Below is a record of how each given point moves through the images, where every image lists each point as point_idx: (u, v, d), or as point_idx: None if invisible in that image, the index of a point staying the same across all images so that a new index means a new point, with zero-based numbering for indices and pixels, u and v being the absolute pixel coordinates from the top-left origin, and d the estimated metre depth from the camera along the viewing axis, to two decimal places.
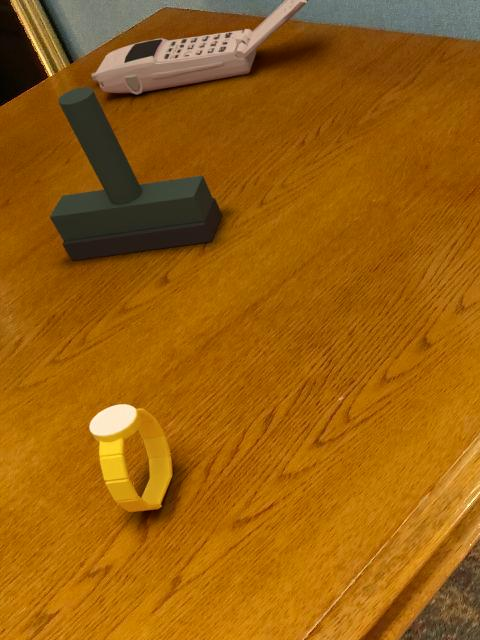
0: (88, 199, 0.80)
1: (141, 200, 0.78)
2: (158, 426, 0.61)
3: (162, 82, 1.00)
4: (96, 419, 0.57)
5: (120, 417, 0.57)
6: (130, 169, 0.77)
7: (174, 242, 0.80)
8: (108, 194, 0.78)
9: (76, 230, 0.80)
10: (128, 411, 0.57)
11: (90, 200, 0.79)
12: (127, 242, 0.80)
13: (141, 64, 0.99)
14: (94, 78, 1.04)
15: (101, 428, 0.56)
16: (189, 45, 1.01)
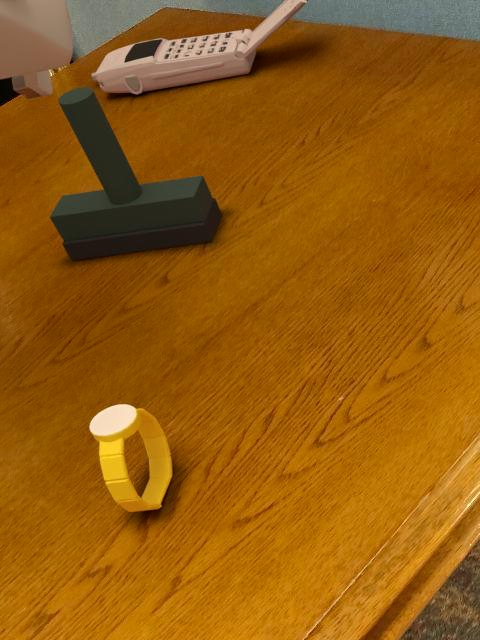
0: (88, 199, 0.80)
1: (141, 200, 0.78)
2: (158, 426, 0.61)
3: (162, 82, 1.00)
4: (96, 419, 0.57)
5: (120, 417, 0.57)
6: (130, 169, 0.77)
7: (174, 242, 0.80)
8: (108, 194, 0.78)
9: (76, 230, 0.80)
10: (128, 411, 0.57)
11: (90, 200, 0.79)
12: (127, 242, 0.80)
13: (141, 64, 0.99)
14: (94, 78, 1.04)
15: (101, 428, 0.56)
16: (189, 45, 1.01)
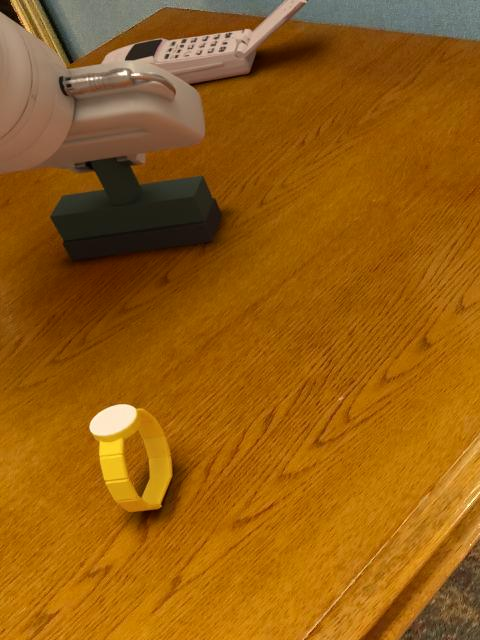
0: (88, 199, 0.80)
1: (141, 200, 0.78)
2: (158, 426, 0.61)
3: None
4: (96, 419, 0.57)
5: (120, 417, 0.57)
6: (130, 169, 0.77)
7: (174, 242, 0.80)
8: (108, 194, 0.78)
9: (76, 230, 0.80)
10: (128, 411, 0.57)
11: (91, 200, 0.79)
12: (127, 242, 0.80)
13: None
14: None
15: (101, 428, 0.56)
16: (189, 45, 1.01)
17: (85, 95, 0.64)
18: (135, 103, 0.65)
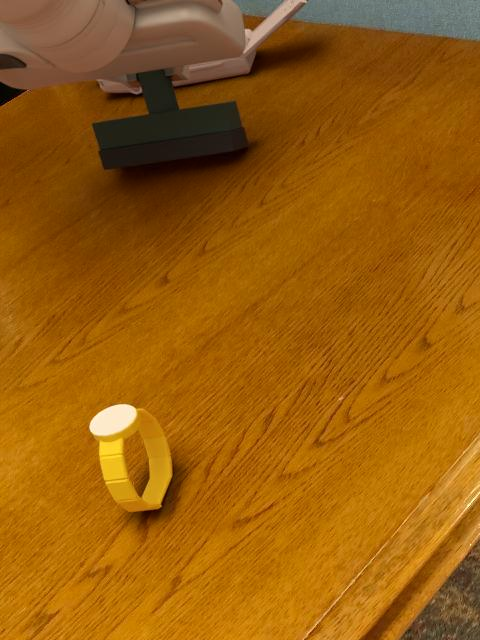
0: None
1: None
2: (158, 426, 0.61)
3: None
4: (96, 419, 0.57)
5: (120, 417, 0.57)
6: (171, 84, 0.86)
7: (200, 150, 0.86)
8: (148, 103, 0.86)
9: (113, 139, 0.87)
10: (128, 411, 0.57)
11: (132, 116, 0.87)
12: (157, 150, 0.86)
13: None
14: None
15: (101, 428, 0.56)
16: None
17: (144, 5, 0.74)
18: (188, 12, 0.74)
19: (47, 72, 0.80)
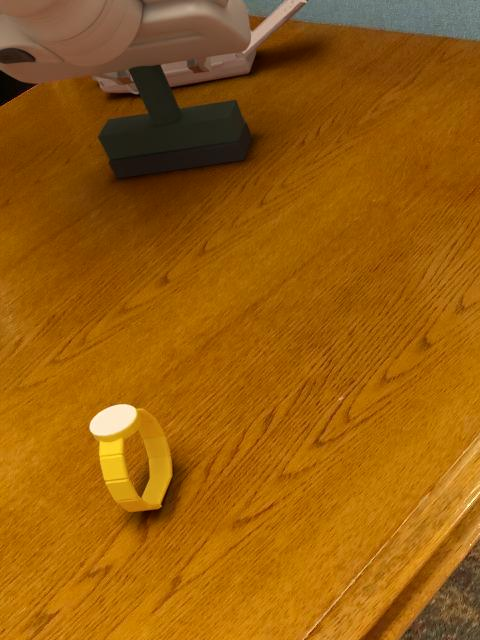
0: (132, 121, 0.88)
1: (181, 121, 0.86)
2: (158, 426, 0.61)
3: None
4: (96, 419, 0.57)
5: (120, 417, 0.57)
6: (171, 92, 0.86)
7: (210, 161, 0.88)
8: (151, 115, 0.86)
9: (121, 150, 0.88)
10: (128, 411, 0.57)
11: (134, 122, 0.88)
12: (167, 161, 0.88)
13: None
14: (94, 78, 1.04)
15: (101, 428, 0.56)
16: None
17: (152, 0, 0.75)
18: (194, 7, 0.75)
19: (55, 66, 0.81)
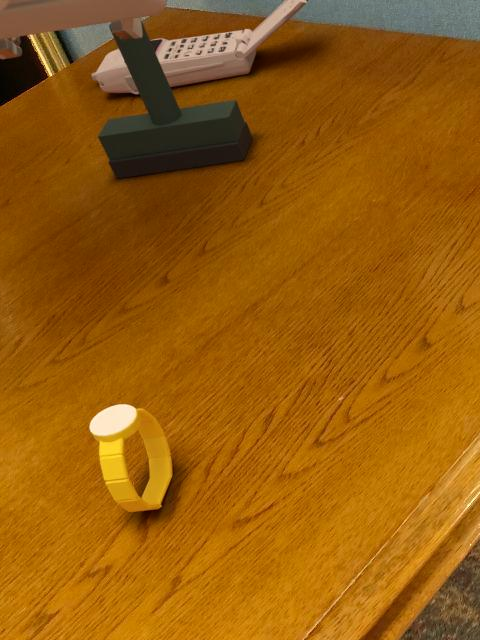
0: (132, 121, 0.88)
1: (181, 121, 0.86)
2: (158, 426, 0.61)
3: None
4: (96, 419, 0.57)
5: (120, 417, 0.57)
6: (171, 92, 0.86)
7: (210, 160, 0.88)
8: (151, 115, 0.86)
9: (121, 150, 0.88)
10: (128, 411, 0.57)
11: (134, 122, 0.88)
12: (167, 161, 0.88)
13: None
14: (94, 78, 1.04)
15: (101, 428, 0.56)
16: (189, 45, 1.01)
17: None
18: None
19: None
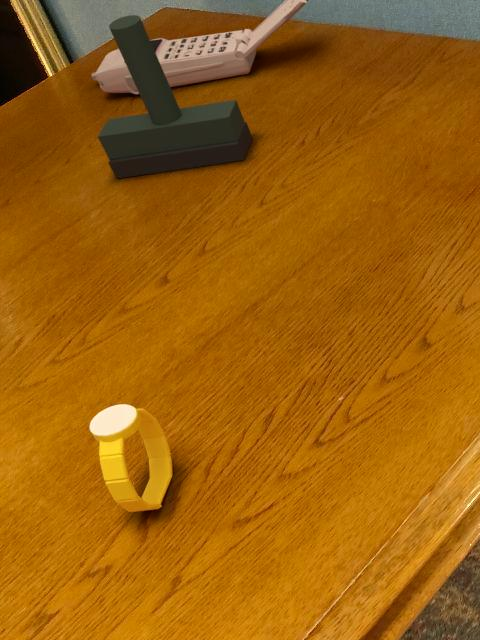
0: (132, 121, 0.88)
1: (181, 121, 0.86)
2: (158, 426, 0.61)
3: None
4: (96, 419, 0.57)
5: (120, 417, 0.57)
6: (171, 92, 0.86)
7: (210, 160, 0.88)
8: (151, 115, 0.86)
9: (121, 150, 0.88)
10: (128, 411, 0.57)
11: (134, 122, 0.88)
12: (167, 161, 0.88)
13: None
14: (94, 78, 1.04)
15: (101, 428, 0.56)
16: (189, 45, 1.01)
17: None
18: None
19: None
